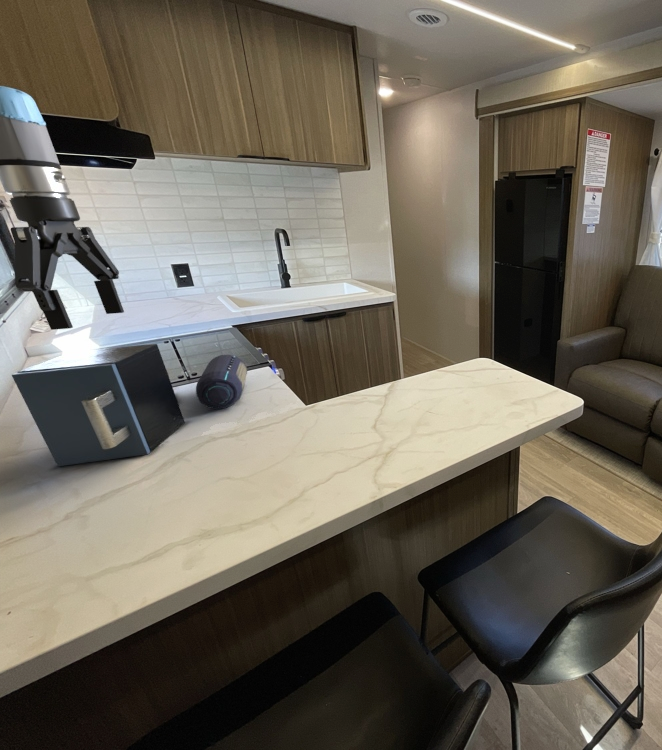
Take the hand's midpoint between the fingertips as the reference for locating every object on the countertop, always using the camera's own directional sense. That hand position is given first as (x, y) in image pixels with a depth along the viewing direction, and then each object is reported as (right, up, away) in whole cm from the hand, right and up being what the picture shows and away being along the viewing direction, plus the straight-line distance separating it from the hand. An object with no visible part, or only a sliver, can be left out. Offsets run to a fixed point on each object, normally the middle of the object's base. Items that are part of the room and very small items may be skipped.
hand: (91, 320), depth 75 cm
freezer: (-6, -25, +14) cm, 30 cm away
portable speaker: (0, -16, +38) cm, 41 cm away
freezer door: (-4, -28, +5) cm, 29 cm away
